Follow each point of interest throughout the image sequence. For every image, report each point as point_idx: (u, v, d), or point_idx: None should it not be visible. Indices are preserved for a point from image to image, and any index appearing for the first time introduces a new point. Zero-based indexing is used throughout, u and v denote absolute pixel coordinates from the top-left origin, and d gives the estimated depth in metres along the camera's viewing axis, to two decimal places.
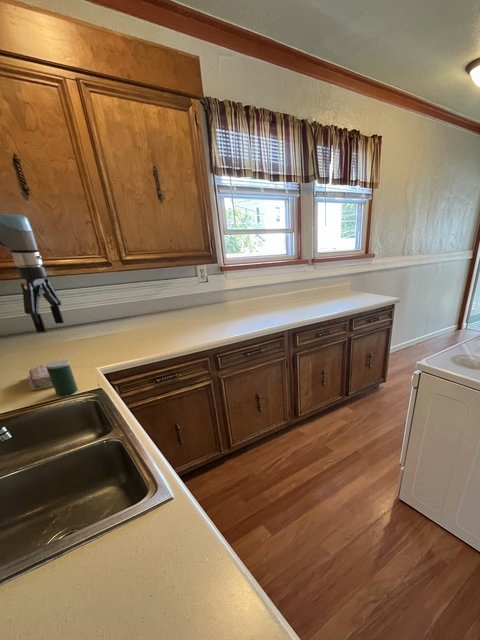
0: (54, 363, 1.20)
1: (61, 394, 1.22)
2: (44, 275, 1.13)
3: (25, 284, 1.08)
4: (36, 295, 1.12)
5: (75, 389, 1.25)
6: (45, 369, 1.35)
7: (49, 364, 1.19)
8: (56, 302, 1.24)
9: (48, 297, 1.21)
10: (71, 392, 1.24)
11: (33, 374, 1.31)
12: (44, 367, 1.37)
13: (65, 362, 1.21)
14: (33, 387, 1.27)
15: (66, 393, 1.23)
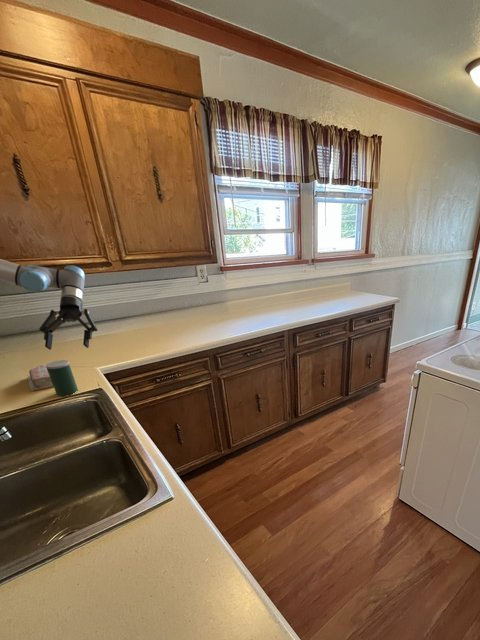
0: (54, 363, 1.20)
1: (61, 394, 1.22)
2: None
3: (88, 311, 1.34)
4: None
5: (75, 389, 1.25)
6: (45, 369, 1.35)
7: (49, 364, 1.19)
8: (51, 331, 1.31)
9: (57, 325, 1.31)
10: (71, 392, 1.24)
11: (33, 374, 1.31)
12: (44, 367, 1.37)
13: (65, 362, 1.21)
14: (33, 387, 1.27)
15: (66, 393, 1.23)
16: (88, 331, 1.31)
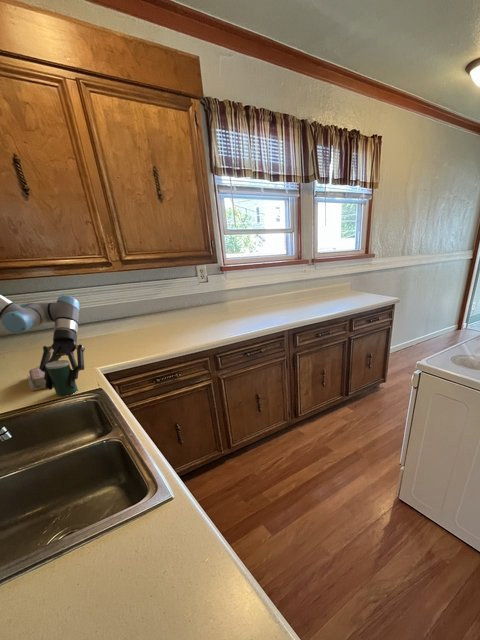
0: (54, 363, 1.20)
1: (61, 394, 1.22)
2: None
3: (83, 347, 1.27)
4: (73, 356, 1.26)
5: (75, 389, 1.25)
6: None
7: (49, 364, 1.19)
8: None
9: None
10: (71, 392, 1.24)
11: (33, 374, 1.31)
12: None
13: (65, 362, 1.21)
14: (33, 387, 1.27)
15: (66, 393, 1.23)
16: (73, 370, 1.23)
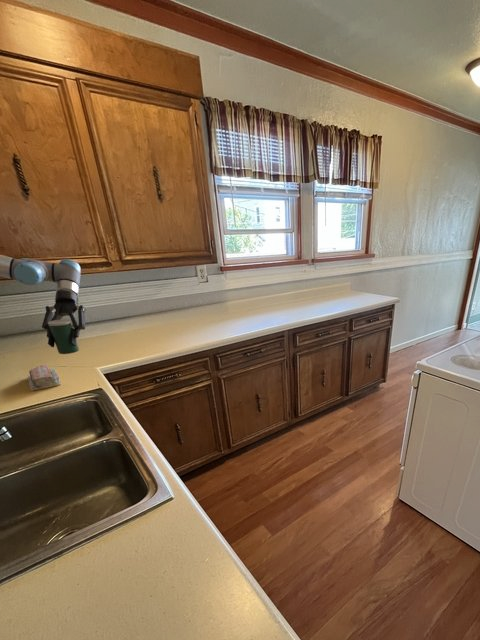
0: (56, 321, 1.25)
1: (63, 352, 1.27)
2: None
3: None
4: (75, 316, 1.32)
5: (76, 348, 1.30)
6: (45, 369, 1.35)
7: (51, 322, 1.24)
8: None
9: None
10: (72, 350, 1.29)
11: (33, 374, 1.31)
12: (44, 367, 1.37)
13: (67, 320, 1.26)
14: (33, 387, 1.27)
15: (68, 351, 1.28)
16: (74, 329, 1.28)
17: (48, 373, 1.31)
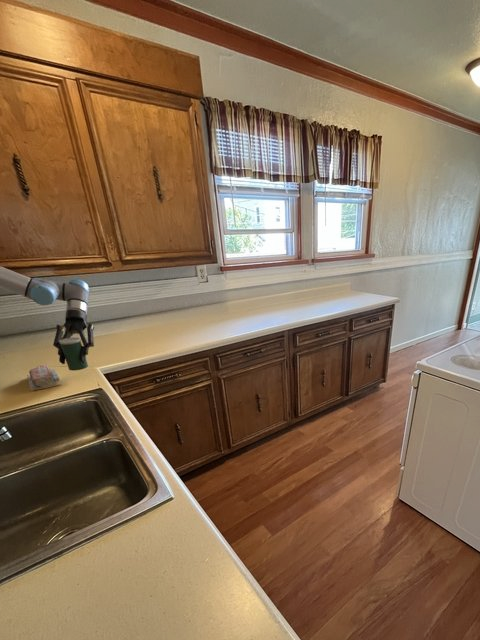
0: (67, 340, 1.32)
1: (73, 368, 1.34)
2: None
3: (92, 326, 1.39)
4: (84, 334, 1.38)
5: (85, 364, 1.37)
6: (45, 369, 1.35)
7: (62, 340, 1.31)
8: None
9: None
10: (82, 367, 1.36)
11: (33, 374, 1.31)
12: (44, 367, 1.37)
13: (77, 339, 1.33)
14: (33, 387, 1.27)
15: (77, 367, 1.35)
16: (84, 347, 1.35)
17: (48, 373, 1.31)
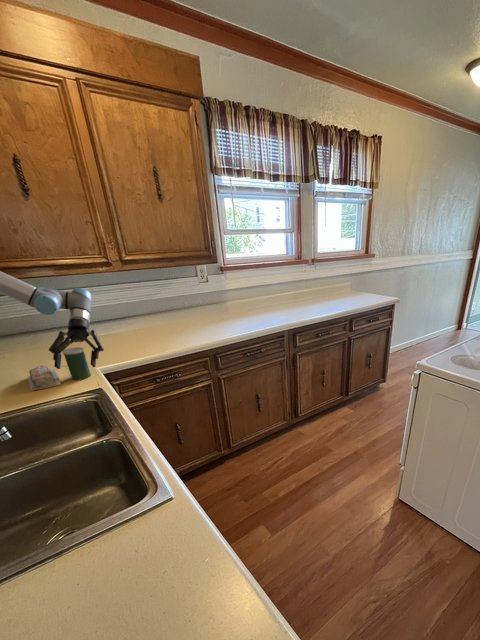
0: (70, 350, 1.34)
1: (76, 378, 1.36)
2: None
3: None
4: None
5: (88, 374, 1.39)
6: (45, 369, 1.35)
7: (66, 350, 1.33)
8: (60, 351, 1.38)
9: (66, 345, 1.38)
10: (85, 376, 1.38)
11: (33, 374, 1.31)
12: (44, 367, 1.37)
13: (80, 349, 1.35)
14: (33, 387, 1.27)
15: (81, 377, 1.37)
16: (95, 351, 1.38)
17: (48, 373, 1.31)
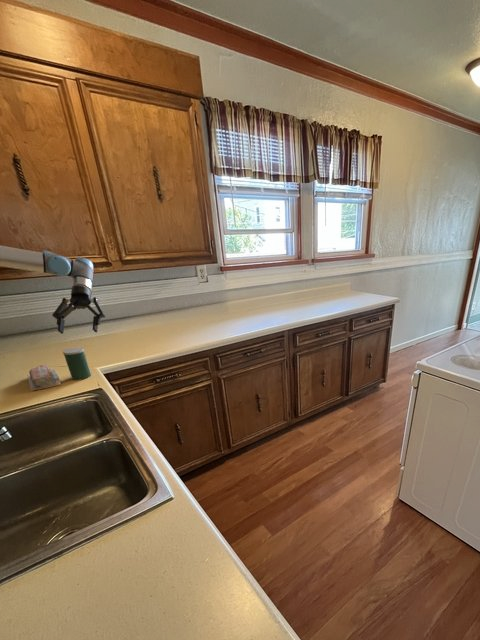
0: (70, 350, 1.34)
1: (76, 378, 1.36)
2: None
3: None
4: None
5: (88, 374, 1.39)
6: (45, 369, 1.35)
7: (66, 350, 1.33)
8: (63, 317, 1.43)
9: (69, 311, 1.43)
10: (85, 376, 1.38)
11: (33, 374, 1.31)
12: (44, 367, 1.37)
13: (80, 349, 1.35)
14: (33, 387, 1.27)
15: (81, 377, 1.37)
16: (97, 317, 1.43)
17: (48, 373, 1.31)
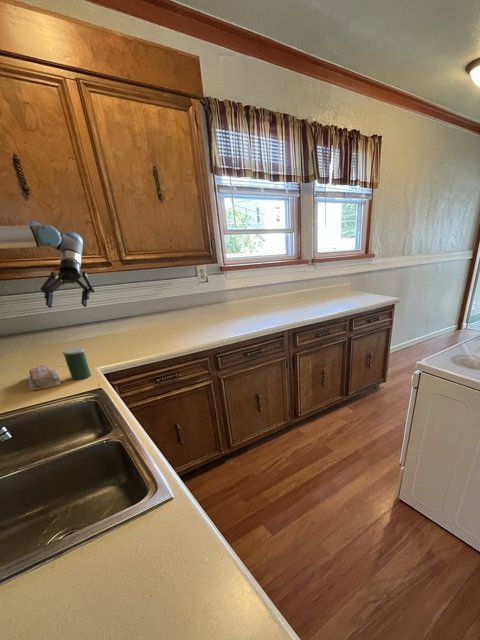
0: (70, 350, 1.34)
1: (76, 378, 1.36)
2: None
3: (86, 274, 1.44)
4: None
5: (88, 374, 1.39)
6: (45, 369, 1.35)
7: (66, 350, 1.33)
8: None
9: (57, 286, 1.40)
10: (85, 376, 1.38)
11: (33, 374, 1.31)
12: (44, 367, 1.37)
13: (80, 349, 1.35)
14: (33, 387, 1.27)
15: (81, 377, 1.37)
16: (86, 291, 1.40)
17: (48, 373, 1.31)
